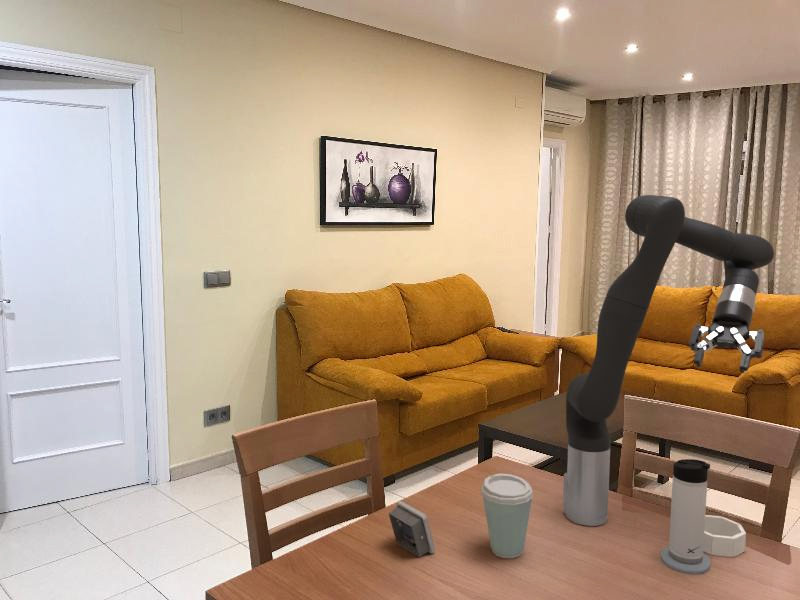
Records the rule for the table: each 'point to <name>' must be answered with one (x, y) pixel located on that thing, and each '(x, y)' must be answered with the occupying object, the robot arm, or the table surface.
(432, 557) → the table surface
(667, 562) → the coaster
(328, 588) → the table surface
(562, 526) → the table surface
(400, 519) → the electrical switch
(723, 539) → the collar
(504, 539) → the disposable coffee cup
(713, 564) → the table surface
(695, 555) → the travel mug
